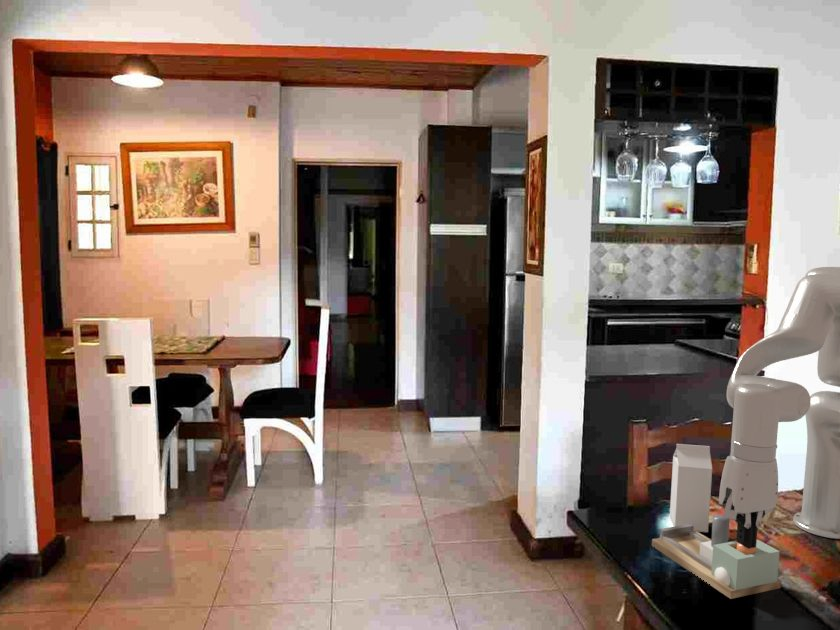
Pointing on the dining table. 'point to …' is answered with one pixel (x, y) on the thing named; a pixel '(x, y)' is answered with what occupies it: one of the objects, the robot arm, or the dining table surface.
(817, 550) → the dining table surface
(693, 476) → the milk carton
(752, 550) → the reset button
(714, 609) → the dining table surface
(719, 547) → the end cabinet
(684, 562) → the track
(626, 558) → the dining table surface
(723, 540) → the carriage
